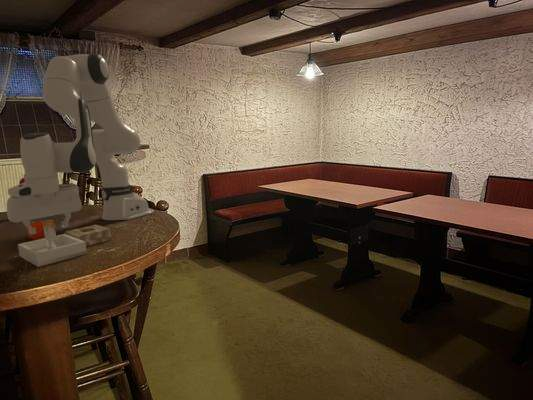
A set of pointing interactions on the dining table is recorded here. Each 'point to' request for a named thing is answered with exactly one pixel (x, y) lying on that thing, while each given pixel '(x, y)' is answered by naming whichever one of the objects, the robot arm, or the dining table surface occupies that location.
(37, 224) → the clementine
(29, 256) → the tray
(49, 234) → the pin
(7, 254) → the dining table surface
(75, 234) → the block
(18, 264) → the dining table surface
